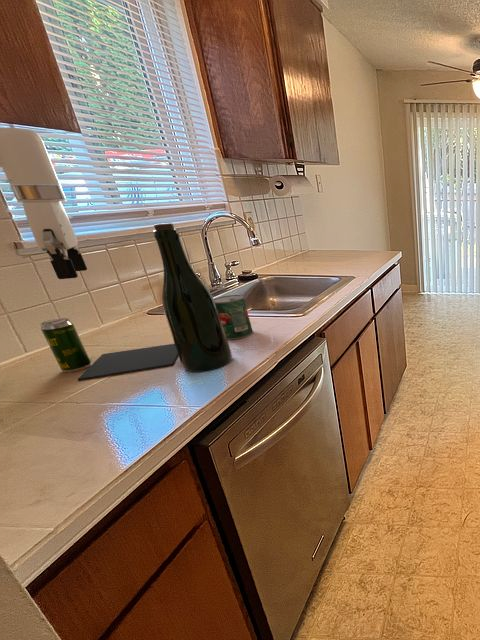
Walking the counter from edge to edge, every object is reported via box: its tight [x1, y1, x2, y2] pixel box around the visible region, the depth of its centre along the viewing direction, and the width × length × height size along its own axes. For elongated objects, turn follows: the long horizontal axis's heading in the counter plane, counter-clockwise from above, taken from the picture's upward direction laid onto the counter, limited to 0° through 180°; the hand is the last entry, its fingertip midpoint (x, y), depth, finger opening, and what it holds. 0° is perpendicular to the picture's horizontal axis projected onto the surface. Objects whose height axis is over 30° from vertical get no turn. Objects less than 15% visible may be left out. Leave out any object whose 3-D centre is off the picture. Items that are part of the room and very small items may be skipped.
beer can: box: [40, 317, 92, 373], centre depth 95 cm, size 5×5×12 cm
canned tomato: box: [213, 294, 254, 341], centre depth 114 cm, size 8×8×11 cm
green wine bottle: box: [153, 222, 233, 373], centre depth 91 cm, size 10×10×33 cm
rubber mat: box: [77, 343, 179, 382], centre depth 101 cm, size 18×16×1 cm
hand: (73, 274), depth 92 cm, fingers open, 9 cm apart
